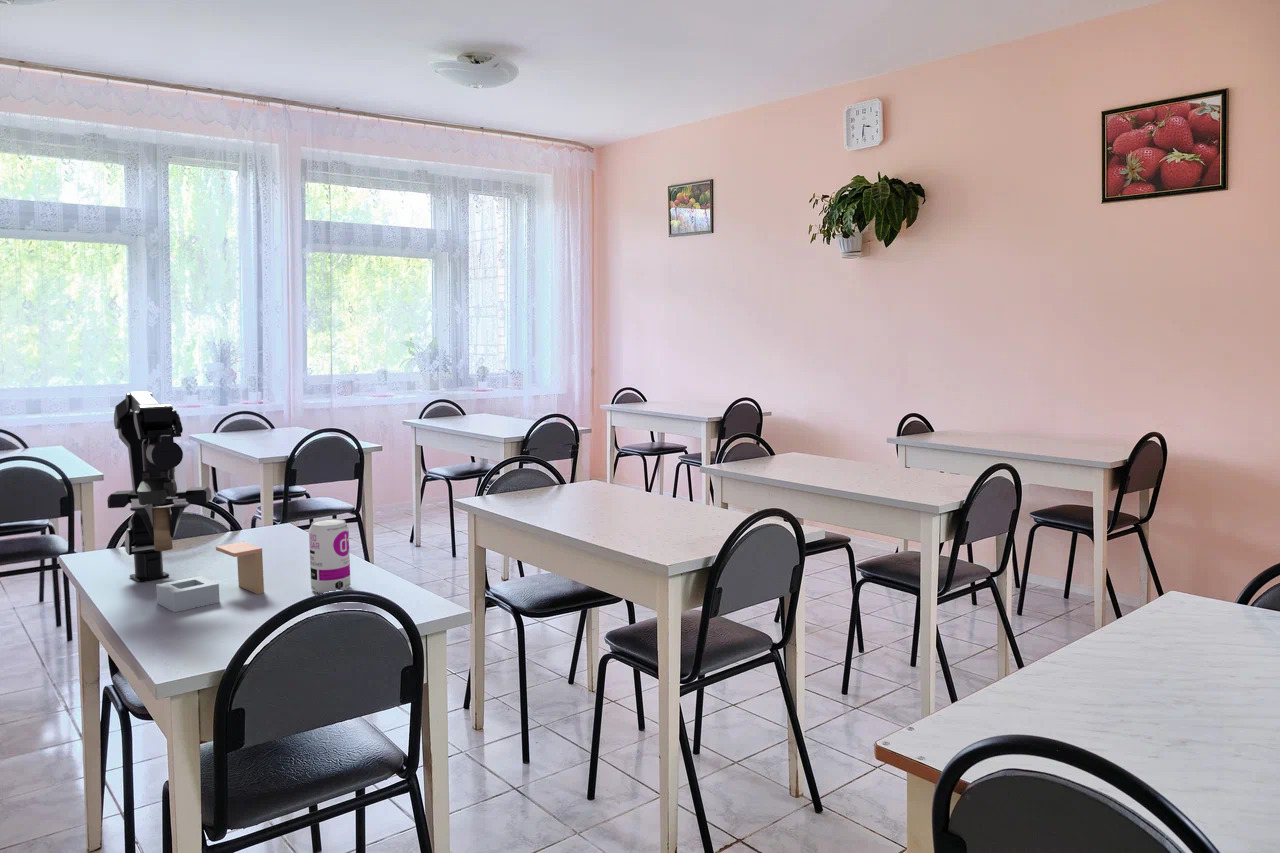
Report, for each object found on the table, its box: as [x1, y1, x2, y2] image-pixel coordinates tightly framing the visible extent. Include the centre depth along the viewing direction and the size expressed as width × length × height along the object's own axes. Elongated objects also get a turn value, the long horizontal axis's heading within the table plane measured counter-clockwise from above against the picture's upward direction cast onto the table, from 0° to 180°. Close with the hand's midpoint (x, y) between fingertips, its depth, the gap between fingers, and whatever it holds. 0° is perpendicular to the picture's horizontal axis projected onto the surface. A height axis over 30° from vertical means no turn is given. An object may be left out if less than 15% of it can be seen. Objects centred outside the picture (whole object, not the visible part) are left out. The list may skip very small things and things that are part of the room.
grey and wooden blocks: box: [155, 541, 265, 613], centre depth 192 cm, size 9×18×10 cm, turn 138°
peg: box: [152, 505, 174, 552], centre depth 192 cm, size 3×3×9 cm
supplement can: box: [308, 518, 351, 594], centre depth 198 cm, size 8×8×15 cm
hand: (163, 537), depth 192 cm, fingers closed on peg, 3 cm apart
